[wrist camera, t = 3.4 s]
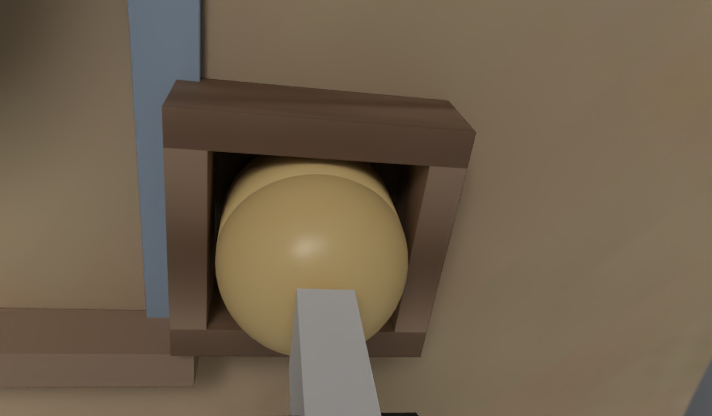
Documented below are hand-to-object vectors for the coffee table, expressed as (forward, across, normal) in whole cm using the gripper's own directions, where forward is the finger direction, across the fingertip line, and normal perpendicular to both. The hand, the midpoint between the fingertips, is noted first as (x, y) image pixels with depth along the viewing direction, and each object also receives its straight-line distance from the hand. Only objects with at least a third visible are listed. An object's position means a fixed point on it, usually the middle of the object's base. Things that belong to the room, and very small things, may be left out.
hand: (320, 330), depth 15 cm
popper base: (+7, 0, 0) cm, 7 cm away
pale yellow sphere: (+6, 0, 0) cm, 6 cm away
